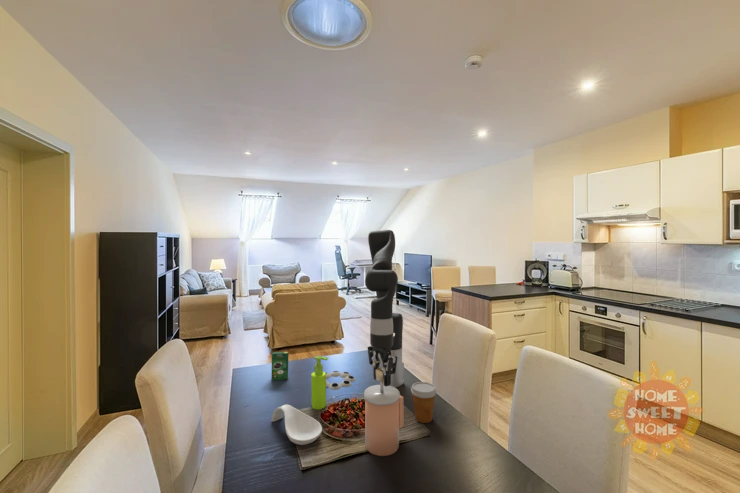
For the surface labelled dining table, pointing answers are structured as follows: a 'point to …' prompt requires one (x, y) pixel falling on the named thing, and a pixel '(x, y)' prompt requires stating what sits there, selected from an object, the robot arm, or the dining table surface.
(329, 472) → the dining table surface
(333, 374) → the paint palette
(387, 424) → the press pot
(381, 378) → the plunger
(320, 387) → the soap dispenser
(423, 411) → the disposable coffee cup
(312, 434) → the spoon rest
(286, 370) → the coffee box
